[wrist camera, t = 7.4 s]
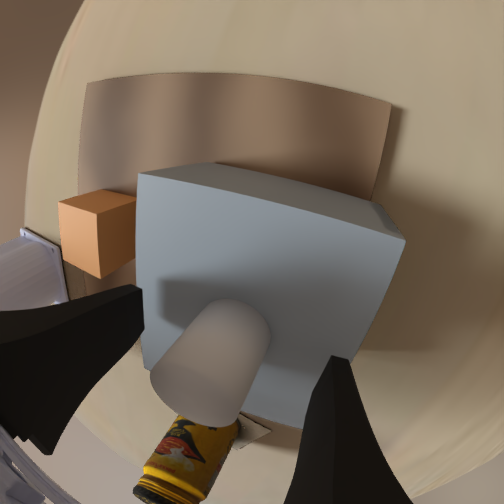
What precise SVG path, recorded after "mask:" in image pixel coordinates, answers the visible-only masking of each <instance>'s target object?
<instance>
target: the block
mask: <svg viewBox="0 0 504 504" xmlns="http://www.w3.org/2000/svg"><path fill="white" fill-rule="evenodd" d="M136 202H137V197H132V196H128V195H124V194H120V193H115V192H111V191H107V190H103V189H100V190H96V191H93V192H89V193H86V194H82V195H79V196H75V197H72V198H69V199H65V200H62V201H59V202H58V210H59V225H60V236H61V246H62V254H63V260H65V261H67V262H69V263H71V264H72V265H74V266H76V267H78V268H80V269H82V270H84V271H86V272H88V273H89V274H91V275H93V276H95V277H97V278H99V279H102V278H104V277H105V276H107V275H108V274H110V273H112V272H113V271H115V270H117V269H118V268H120V267H121V266H123V265H125V264H126V263H128V262H130V261H131V260H133V259H135V258H136Z"/></svg>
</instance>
